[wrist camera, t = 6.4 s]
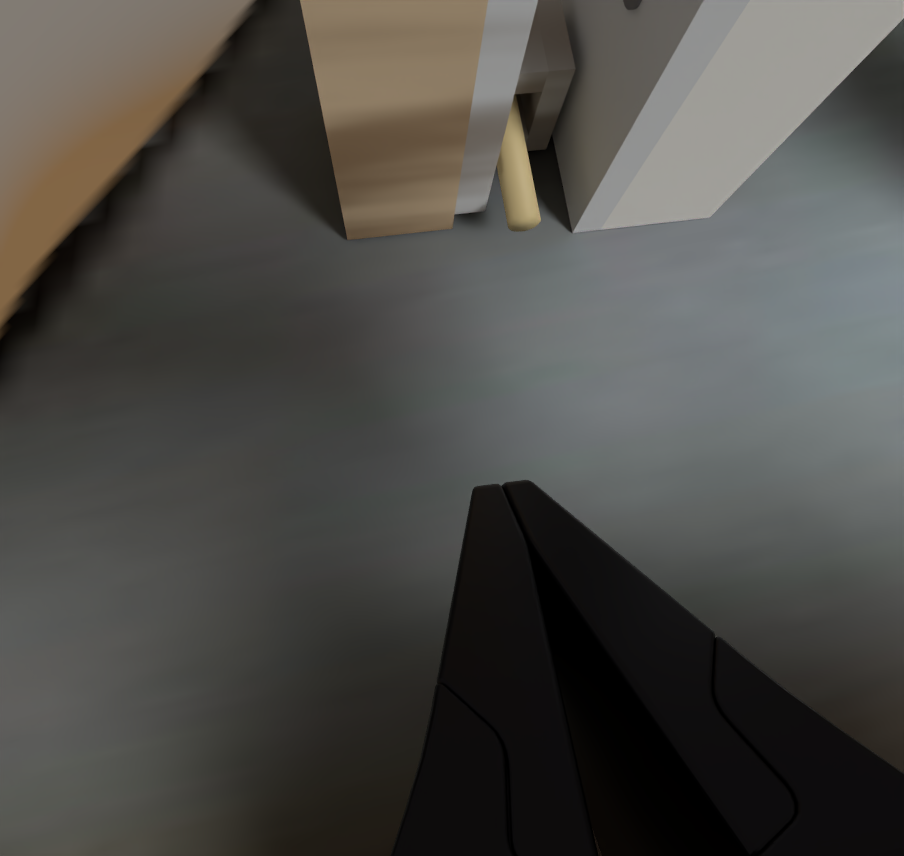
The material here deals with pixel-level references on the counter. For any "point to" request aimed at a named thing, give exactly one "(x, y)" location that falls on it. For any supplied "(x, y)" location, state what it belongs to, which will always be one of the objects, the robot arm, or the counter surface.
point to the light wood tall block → (431, 100)
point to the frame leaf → (684, 101)
